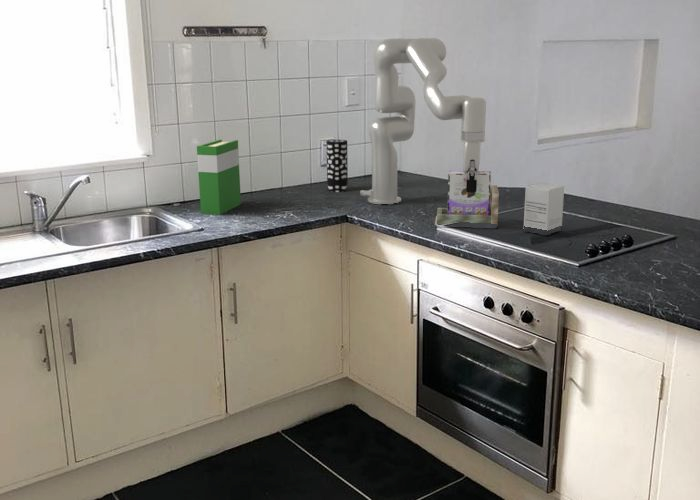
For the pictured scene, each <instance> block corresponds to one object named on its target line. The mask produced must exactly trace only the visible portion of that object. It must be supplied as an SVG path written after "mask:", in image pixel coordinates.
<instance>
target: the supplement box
mask: <svg viewBox="0 0 700 500" xmlns="http://www.w3.org/2000/svg"><path fill="white" fill-rule="evenodd" d="M564 196H565V186H564V185H563V184H561V185H560V184H554V183H546V182H538V183H534V184H531V185H526V186H525V194H524V212H523V213H524V214H523V215H524V216H523V227H524V226H525V227H531V228H537V229H542V230H547V231H548V230H551V229H554V228H556V227H559V226H562V227H563V216H564V215H563V212H564Z"/></svg>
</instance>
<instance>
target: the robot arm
mask: <svg viewBox="0 0 700 500" xmlns="http://www.w3.org/2000/svg"><path fill="white" fill-rule="evenodd" d="M446 56H447V47H446V45H445V43H444V42H443V41H442V40H441V39H440V38H435V37H433V38H432V37H431V38H428V37H427V38H423V37H422V38H389V39H384V40H382V41H380V42H379V43H377V45H376V46H375V49H374V51H373V68H374V77H375V78H374V94H373V95H374V96H373V97H374V99H373V101H374V103H373V104H374V108H375V110H376V112H377V113H380V114H394V113H395V115H393V116H392V115H391V116H381V117H378V118H374V119H373V120H372V121H371V123H370V125H369V126H368V127H369V128H368V132H369V138H370V146H371V189H368V190H366V189H365V190H361V189H360V191H359V193H360V194H359V195H360V196H362V197H368V198H367V202H368V203H370V204H372V205H373V204H374V205H381V204H388V205H394V204H393V203H397V204H400V203H401V202H402V198H401V197H400V196H398V152H397V150H396V147H395V145H394V144H393V143H397V142H398V143H399V142H405V141H408V140H410V139H411V138H412V137H413V134H414V131H415V124H416V123H415V119H416V118H415V117H416V96H415V93H414V91H413V90H412V88H410V87H409V86H405V85H399V78H400V77H399V73H398V69H397V67H396V65H395V64H412V66H413V67H414V69H415V70H416V72H417V73H418V75H419V76H420V78H421V80H422V81H423V82H424V85H423V99H424V101H425V104H426V105H427V107H428V108H429V110H430V111H431V113H432V114H433V115H434V117H436V118H437V119H439V120H441V121H451V120H461V129H460V130H461V132H460V134H461V136H460V141H461V142H462V143H464V144H463V151H462V152H463V156H462V159H463V160H462V161H463V162H462V171H463V172H464V173H465V172H467V171H468V180H467V184H466V192H476V188H477V180H476V173H478V171H480V170H479V169H480V160H481V143H485V139H486V138H485V136H486V135H485V134H486V114H487V112H486V111H487V101H486V99H485V98H482V97H471V96H469V95H464V94H463V95H447V96H445V95H444V94H443V92H442V91H441V90H440V88H439V87H438V85H439V84H440V83H442V82H443V80H444V79H445V78H446V76H447V73H448V69H447V68H446V66H445V64H444V63H443V61H444V60H445V59H446ZM399 202H400V203H399Z"/></svg>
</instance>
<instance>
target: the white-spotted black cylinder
mask: <svg viewBox="0 0 700 500" xmlns="http://www.w3.org/2000/svg"><path fill="white" fill-rule="evenodd" d="M348 164H349V163H348V140H346V139H328V140H326V177H327V178H326V184H327V185H326V187H327V188H326V189H327V191H328V192H330V193H344V192H347V191H348V190H349V187H348V186H349V184H348V183H349V181H348V177H349V174H348Z"/></svg>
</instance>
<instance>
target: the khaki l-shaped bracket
mask: <svg viewBox="0 0 700 500" xmlns="http://www.w3.org/2000/svg"><path fill="white" fill-rule="evenodd" d="M499 197H500V192H499V188H498V185H492V184H491V193H490V214H489V215H451V214H448V207H437V212H436V215H435V222H434V224H435V225H438V224H447V223H455V222H470V223H491V224H497V225H498V221H499V219H498V217H499V216H498V215H499V199H500V198H499ZM435 225H434V226H435Z"/></svg>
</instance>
